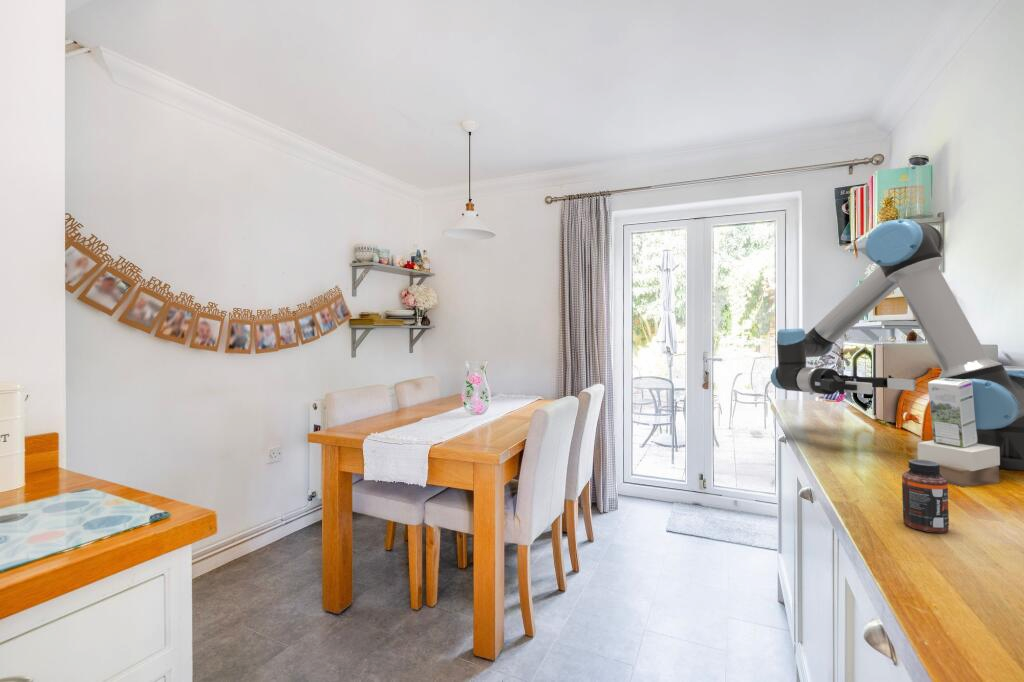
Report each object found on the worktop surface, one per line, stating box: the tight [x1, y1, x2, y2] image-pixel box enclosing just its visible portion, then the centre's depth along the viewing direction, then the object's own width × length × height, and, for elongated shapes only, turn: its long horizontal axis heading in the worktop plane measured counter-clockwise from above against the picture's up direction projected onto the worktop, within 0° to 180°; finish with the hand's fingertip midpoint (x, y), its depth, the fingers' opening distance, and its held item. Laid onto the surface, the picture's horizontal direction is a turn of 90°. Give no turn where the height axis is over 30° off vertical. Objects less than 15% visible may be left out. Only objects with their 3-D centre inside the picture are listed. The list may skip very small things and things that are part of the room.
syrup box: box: [927, 378, 977, 448], centre depth 105 cm, size 6×6×14 cm
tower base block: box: [912, 458, 1000, 488], centre depth 105 cm, size 10×10×4 cm
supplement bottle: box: [901, 459, 950, 534], centre depth 80 cm, size 6×6×11 cm
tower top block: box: [916, 439, 1000, 471], centre depth 105 cm, size 10×10×4 cm
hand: (893, 386), depth 115 cm, fingers open, 13 cm apart
